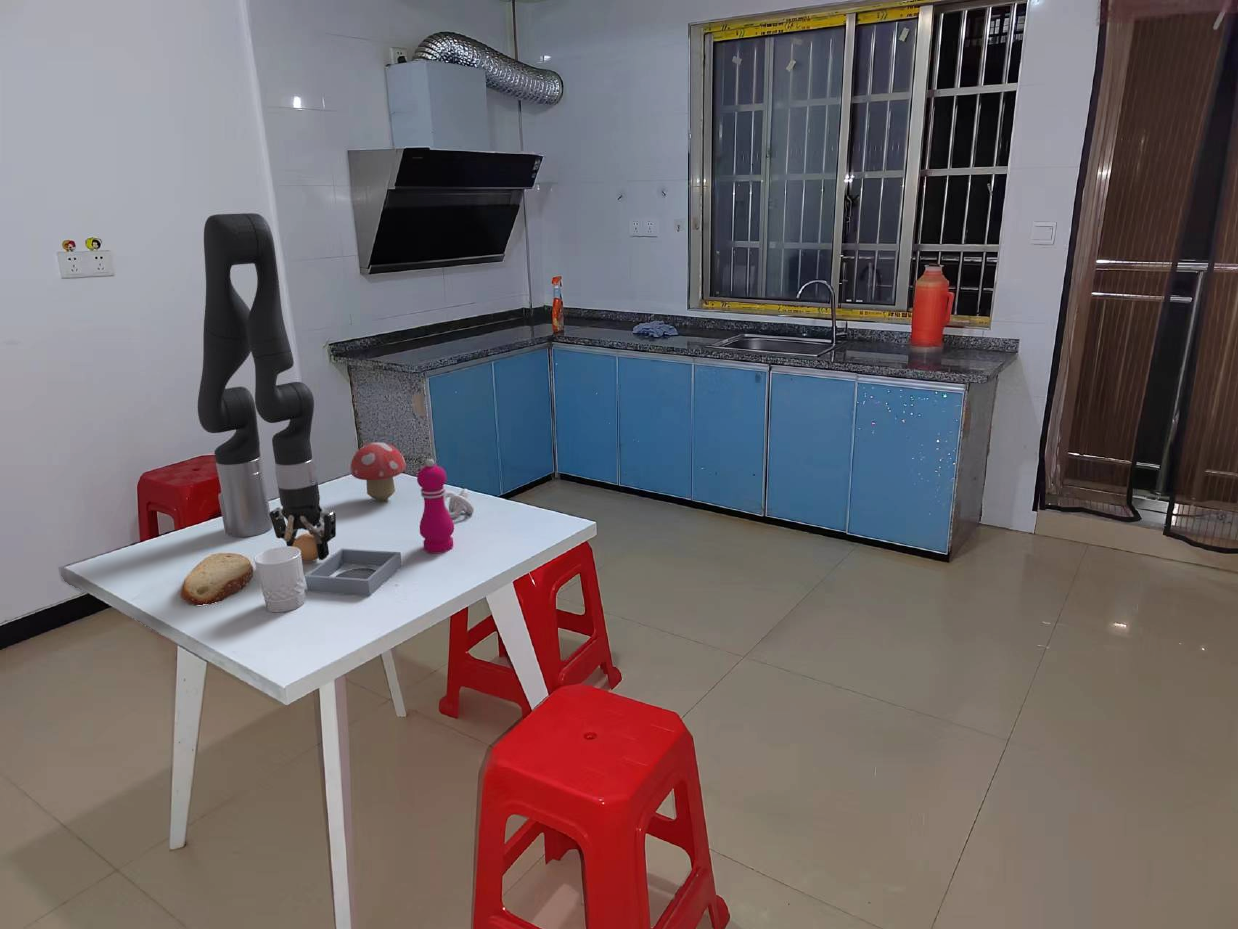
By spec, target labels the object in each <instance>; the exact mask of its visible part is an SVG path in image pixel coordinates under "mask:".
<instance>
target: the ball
mask: <svg viewBox="0 0 1238 929" xmlns="http://www.w3.org/2000/svg"><path fill="white" fill-rule="evenodd" d="M295 538H296V539H295V541H294V542H293V546H292V547H297V548H299V549H300V550H301V557H302V563H311V562H315V561H316V560H319V558H318V551H317V545H316V544H317V541H316V540H315V538H314V536H313V535H311V534H310V533H309V532H306V533H303V534H300V535H298V536H296V537H295Z"/></svg>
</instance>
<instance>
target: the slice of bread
mask: <svg viewBox="0 0 1238 929" xmlns="http://www.w3.org/2000/svg"><path fill="white" fill-rule="evenodd" d="M253 577H254V568H253V566H252V564H251V560H250V559H249V558H248V557H246V556H244V555H243V554H239V553H232V552H219V553H218V552H217V553H212V554H211V555H209V556H208V557H205V558H204V559H203V560H201V561H200V562H199V563H198V564H197V565H196V566H195V567H194V568H193V569H192V571H190V573H188V574H187V576H186V577H185V579H184V581H183V583H182V587H181V590H180V598H181V599H182V600H183V601H184V602H185V603H187V604H189V605H191V604H193V605H192V606H195V605H203V604H209V605H213V604H212V603H214V604H216V603H215V602H218V603H219V601H220V602H222V601H223V600H225V599H227V598H229V597H231V596H233V595H235V594H237V593H238V592H240V591H242V590H243V589H244V588H245V587H246V586H247V585H248V584H249V583H250V582H251V581H252V578H253ZM228 596H229V597H228Z"/></svg>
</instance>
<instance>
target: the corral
mask: <svg viewBox="0 0 1238 929" xmlns="http://www.w3.org/2000/svg"><path fill="white" fill-rule="evenodd" d="M401 553H402V552H400V551H385V550H372V549H371V550H369V549H357V548H354V549H353V548H342V547H341V548H340V549H339V550H338V551H336V552H334V554H332V555H331V556H329V557H328V558H326V559H325V560H323V561H322V563H320V564H319V565H318V566H316V567H315V568H314V569H313V570H311V571H310V572H308V573H307V574H306V575H305V576H304V578H305V580H304V581H305V586H306V591H307V592H314V593H327V594H337V593H338V594H339V595H348V596H349V595H351V596H362V595H363V597H364V596H366V597H372V595H373V594H374V593H375V592H377V590H379V588H380V587H382V586H383V585H384V584H385V583H386V582H387V581H388V580H390V578H392V577H393V576H394V575H395V574H396V573H397V572H398V571H399V570H400V569H402V567H403V564H402V563H403V562H402V555H401ZM352 564H355V566H356V565H357V566H369V567H379V568H378V569H376V570H377V571H376V572H374V573H373V574H372V575H371V576H370V577H369V578H367V579H358V578H344V577H335V576H332V575H333V574H334V573H335V572H336V571H339V569H340V568H342V567H343V566H344V565H352ZM398 569H399V570H398ZM397 570H398V571H397ZM395 572H396V573H395ZM394 573H395V574H394ZM393 574H394V575H393ZM392 575H393V576H392ZM384 582H385V583H384ZM383 583H384V584H383ZM381 585H382V586H381ZM372 593H373V594H372Z"/></svg>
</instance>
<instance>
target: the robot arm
mask: <svg viewBox="0 0 1238 929" xmlns="http://www.w3.org/2000/svg"><path fill="white" fill-rule="evenodd" d="M203 250H204V251H203V253H204V268H205V269H204V270H205V303H204V304H205V305H204V306H205V307H204V317H203V333H202V335H203V338H202V339H203V342H202V343H203V348H202V350H203V351H202V352H203V356H202V359H203V360H202V370H201V378H200V384H199V390H198V398H197V415H198V420H199V423H200V425H201V427H202V429H203V430H204V431H205V432H207V433H210V434H221V433H226V432H231V431H235V432H234V434H233V435H232V436H231V437H230V438H228V440H227V441H225V442H223V443H221V444H220V445H218V446H217V447H216V448H215V450H214V459H215V460H214V461H215V464H216V465H215V466H216V470H217V476H218V480H219V485H220V491H221V492H219V494H218V501H219V507H220V511H221V517H222V518H221V519H222V522H223V523H222V524H223V529H224V533H225V534H229V535H230V536H233V537H238V538H242V537H243V538H246V537H252V536H257V535H261V534H263V533H266V532H268V531H270V530H271V529H272V528H273V530H274V534H275V538H277V539H282V540H284V541H285V543H286V546H293V542H294V541H295V539H296V538H297V534H298V530H302V529H303V530H305V531H306V530H307V531H308V533H310V534H311V535H313V536H314V538H315V540H316V541H317V544H316V545H317V551H318V560H319V561H325V560H326V559H327V557H328V556H329V553H330V551H329V544H328V542H330V541H331V540H332V539H334V538H335V537H336V535H337V533H336V532H337V519H336V518H337V516H336V515H337V513H336V511H334V510H330V511H324V510H323V509H322V507H321V505H320V501H321V495H320V489H319V483H318V482H319V481H318V475H317V469H316V466H315V462H314V458H313V451H312V444H311V433H312V432H311V431H312V423H313V416H314V411H315V399H314V395H313V393H312V390H311V389H310V388H309V386H308V385H307V384H305V382H302V381H291V382H287V383H283V384H278V385H277V380H278V376H279V374H281V373H283V372H287V371H288V370H290V369H292V368H293V367H294V357H293V353H292V349H291V345H290V341H289V338H288V334H287V329H286V327H285V326H286V325H285V321H284V315H283V311H282V310H283V309H282V300H281V291H280V280H279V279H280V278H279V271H278V264H277V255H276V247H275V242H274V238H273V234H272V231H271V227H270V225H269V223H268V221H267V220H266V218H265V217H264V216H262V215H261V214H258V213H254V212H253V213H251V212H249V213H248V212H247V213H244V212H243V213H221V214H220V213H219V214H213V215H210V216H208V217H207V219H206V220H205V223H204V229H203ZM248 264H249V265H252V264H254V267H255V271H256V278H257V279H256V280H257V281H256V282H257V284H256V291H255V294H254V299H253V302H252V305H251V308H249V307H248V305H247V303H246V302H245V301H244V299H243V298H242V297H241V296H240V295H239V293H238V291H237V290H236V289H235V287H234V286H233V283H232V279H231V269H232V267H233V266H237V265H238V266H240V265H248ZM250 354H251V356H252V359H253V363H254V370H255V371H254V374H255V375H254V378H255V380H254V381H255V386H254V387H255V389H254V391H255V392H254V397H253V395H252V393H251V391H250V390H249V389H248V388H247V387H245V386H234V387H233V386H232V387H229V388H228V387H227V388H226V386H227V384H228V383H229V381H230V379H231V378H232V377H233V376H234V375H235V373H237V371H238V370H239V369H240V368H241V366H243V364H244V363H245V362H246V360H247V359H248V357H249V355H250ZM257 413H258V414H257ZM257 415H259V417H260V418H261V419H262V420H264V422H267V423H268V424H276V423H281V422H285V421H289V422H288V425H287V427H285V428H284V429H282V430H280V431H278V432H277V433H275V434H274V435H273V436H272V439H271V443H272V450H273V457H274V462H275V476H276V477H275V478H276V483H277V488H278V489H277V490H278V497H279V502H280V505H281V507H276V508H275V509H273V510H271V508H270V503H269V502H270V501H269V496H268V491H267V486H266V485H267V484H266V479H265V474H264V468H263V462H262V457H261V451H260V449H261V442H260V436H259V427H258V418H257ZM285 519H286V521H287V524H286V521H285ZM321 519H322V520H321ZM315 527H316V528H315Z"/></svg>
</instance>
